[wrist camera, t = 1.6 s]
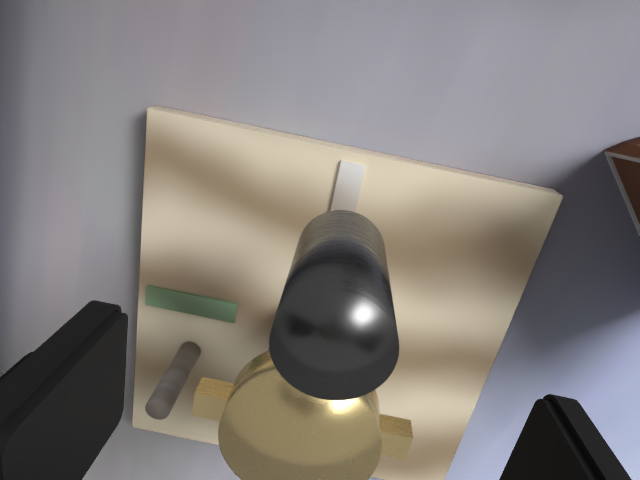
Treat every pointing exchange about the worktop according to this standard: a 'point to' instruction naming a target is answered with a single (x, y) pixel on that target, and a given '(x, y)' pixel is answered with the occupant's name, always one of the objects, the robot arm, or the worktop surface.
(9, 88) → the worktop surface
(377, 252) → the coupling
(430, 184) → the post base
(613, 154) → the food container
